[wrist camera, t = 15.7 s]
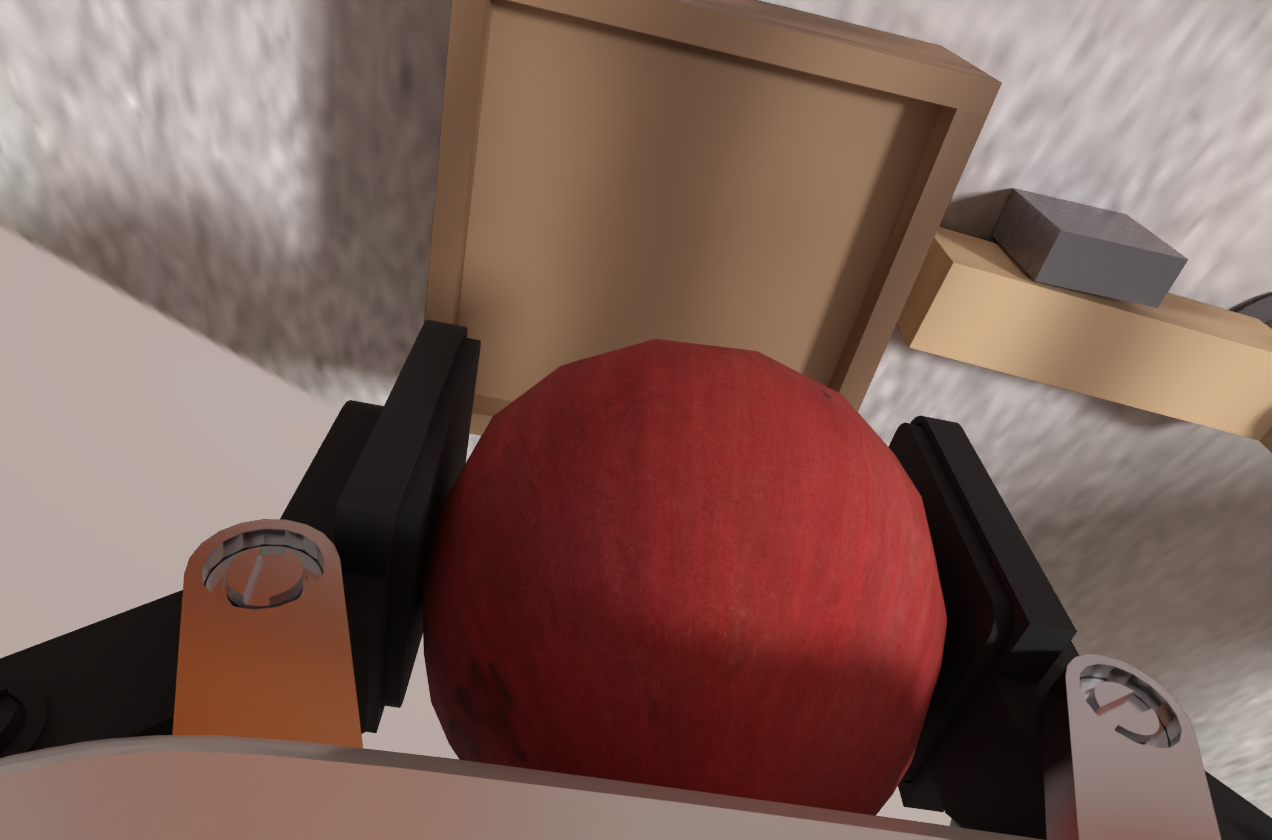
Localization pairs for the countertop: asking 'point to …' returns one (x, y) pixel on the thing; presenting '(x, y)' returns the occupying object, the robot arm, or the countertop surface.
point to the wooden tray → (688, 183)
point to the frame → (1094, 251)
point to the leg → (1092, 339)
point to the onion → (686, 584)
